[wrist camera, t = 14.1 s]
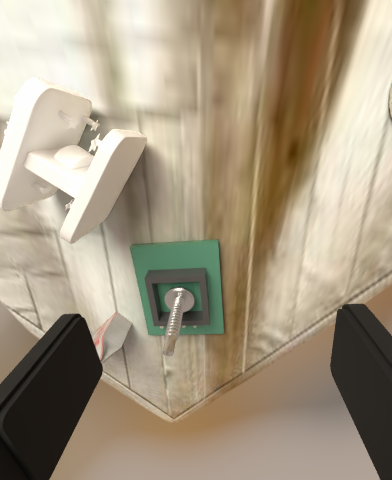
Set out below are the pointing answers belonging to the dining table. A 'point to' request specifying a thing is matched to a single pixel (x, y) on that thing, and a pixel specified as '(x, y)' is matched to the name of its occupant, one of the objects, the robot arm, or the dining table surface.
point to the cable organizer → (63, 156)
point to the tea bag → (111, 336)
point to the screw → (176, 315)
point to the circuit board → (180, 284)
